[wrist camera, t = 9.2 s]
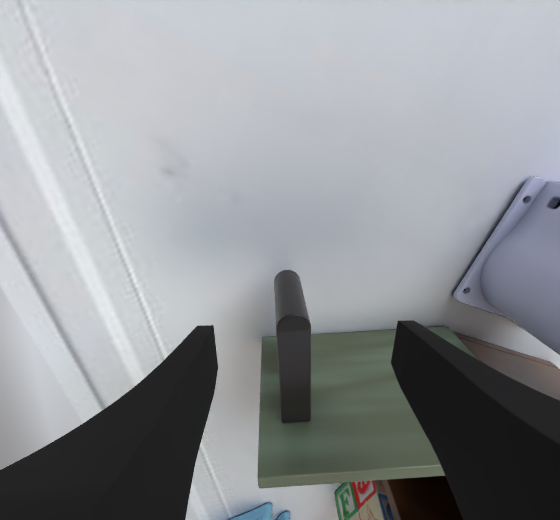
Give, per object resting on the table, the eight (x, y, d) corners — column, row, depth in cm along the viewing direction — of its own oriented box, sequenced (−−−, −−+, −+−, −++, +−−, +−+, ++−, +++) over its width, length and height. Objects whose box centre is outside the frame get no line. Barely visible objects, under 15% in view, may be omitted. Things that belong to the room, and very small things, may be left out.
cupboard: (370, 450, 28) (425, 613, 19) (451, 331, 23) (585, 468, 14) (457, 469, 30) (550, 629, 20) (550, 361, 25) (734, 504, 15)
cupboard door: (255, 255, 20) (244, 357, 11) (464, 244, 20) (636, 334, 11) (262, 345, 23) (258, 489, 13) (445, 334, 23) (568, 468, 14)
